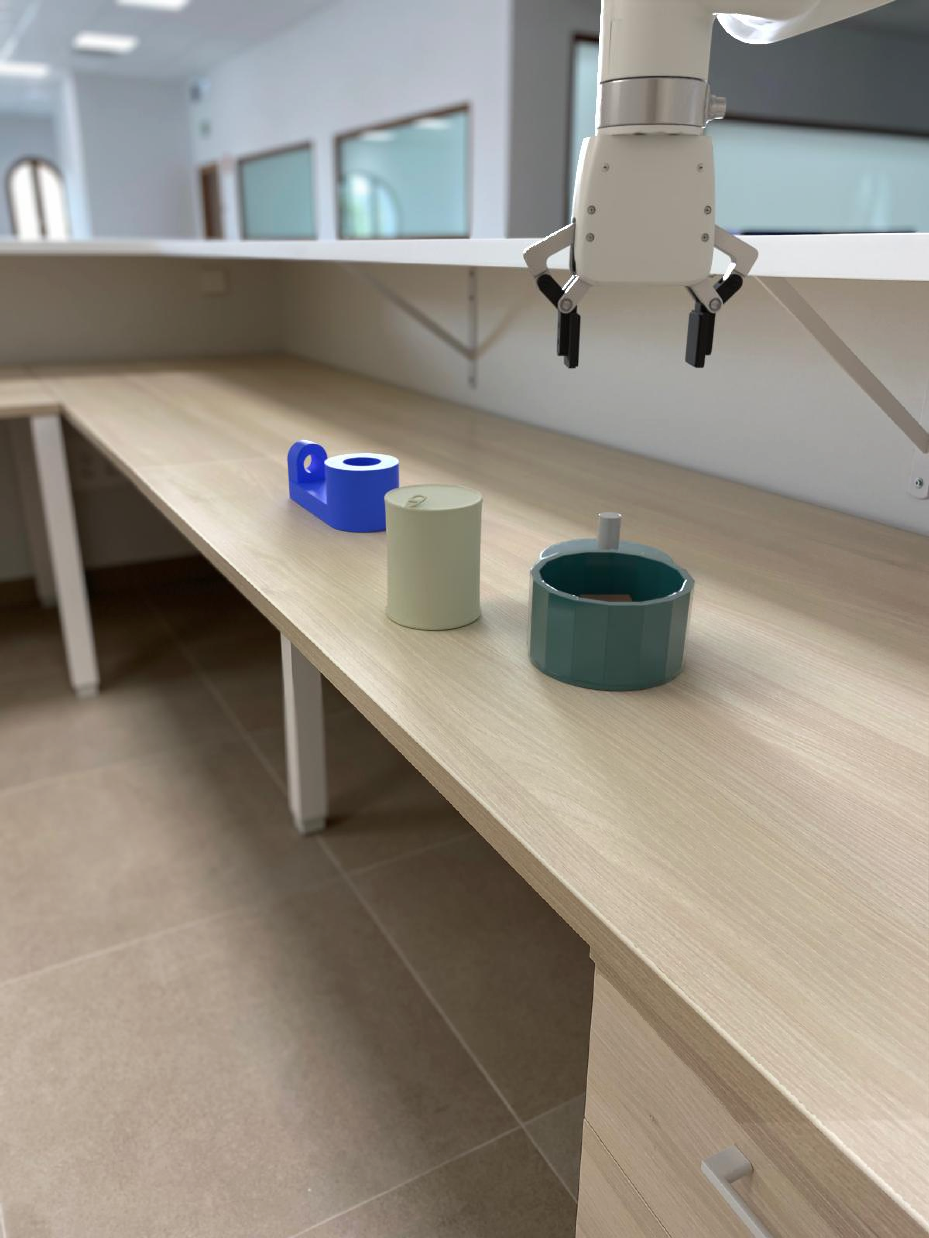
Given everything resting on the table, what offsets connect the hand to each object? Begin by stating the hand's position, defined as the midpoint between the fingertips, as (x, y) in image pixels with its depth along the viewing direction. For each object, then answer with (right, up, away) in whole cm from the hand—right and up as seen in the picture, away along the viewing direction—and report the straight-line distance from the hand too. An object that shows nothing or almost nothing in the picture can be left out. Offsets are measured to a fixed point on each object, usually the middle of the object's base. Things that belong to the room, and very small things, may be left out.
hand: (632, 365), depth 72 cm
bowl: (-1, -23, +10) cm, 25 cm away
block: (-1, -22, +10) cm, 24 cm away
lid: (+3, -14, +30) cm, 33 cm away
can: (-16, -19, +18) cm, 31 cm away
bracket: (-29, -6, +49) cm, 58 cm away
